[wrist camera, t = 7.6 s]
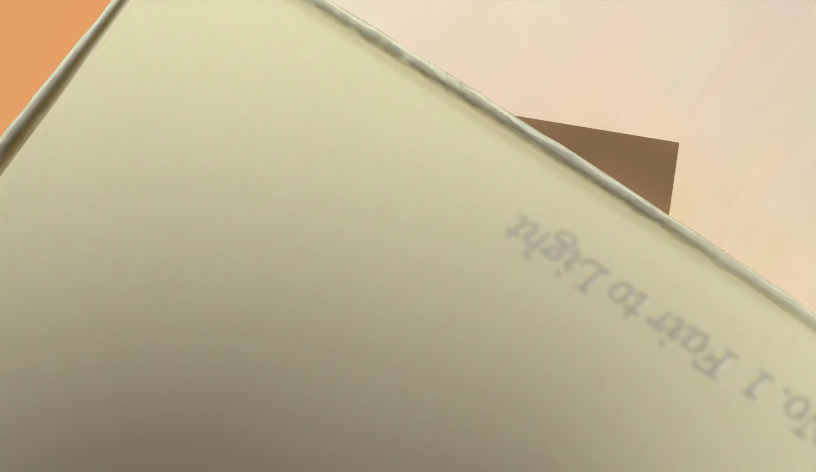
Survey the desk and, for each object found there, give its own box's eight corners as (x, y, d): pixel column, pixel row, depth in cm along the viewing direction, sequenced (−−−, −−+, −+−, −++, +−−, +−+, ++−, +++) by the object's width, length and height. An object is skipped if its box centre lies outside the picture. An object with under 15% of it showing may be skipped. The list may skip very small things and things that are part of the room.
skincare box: (557, 328, 15) (1024, 416, 3) (463, 466, 15) (602, 1124, 3) (369, 196, 16) (187, -132, 4) (275, 327, 16) (-240, 401, 4)
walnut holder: (580, 544, 21) (613, 601, 17) (210, 463, 22) (159, 500, 18) (635, 171, 22) (679, 142, 18) (287, 112, 23) (255, 73, 19)
